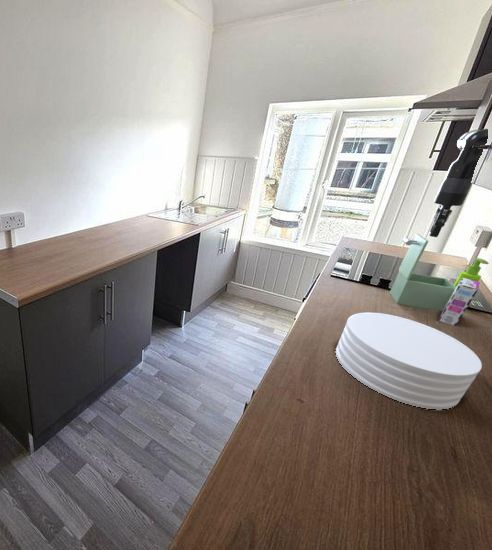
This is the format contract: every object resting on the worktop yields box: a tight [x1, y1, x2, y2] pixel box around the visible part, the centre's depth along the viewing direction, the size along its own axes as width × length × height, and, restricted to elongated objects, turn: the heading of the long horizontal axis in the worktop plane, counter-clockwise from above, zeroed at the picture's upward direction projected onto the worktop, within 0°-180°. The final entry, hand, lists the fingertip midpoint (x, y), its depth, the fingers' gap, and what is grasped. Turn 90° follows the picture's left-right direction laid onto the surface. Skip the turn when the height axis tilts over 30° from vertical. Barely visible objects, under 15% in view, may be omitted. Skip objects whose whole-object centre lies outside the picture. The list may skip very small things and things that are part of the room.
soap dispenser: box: [453, 257, 490, 287], centre depth 123 cm, size 6×7×20 cm
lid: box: [398, 233, 430, 280], centre depth 122 cm, size 16×12×5 cm
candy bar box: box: [437, 278, 481, 327], centre depth 110 cm, size 11×5×16 cm, turn 130°
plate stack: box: [334, 311, 483, 411], centre depth 84 cm, size 28×28×12 cm
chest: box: [389, 270, 456, 312], centre depth 124 cm, size 16×12×11 cm
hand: (433, 234), depth 113 cm, fingers open, 8 cm apart
